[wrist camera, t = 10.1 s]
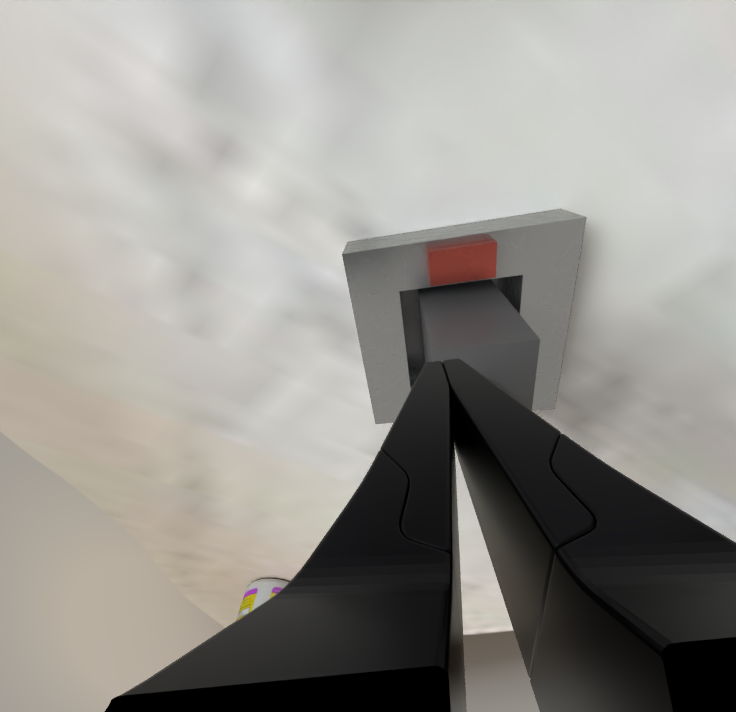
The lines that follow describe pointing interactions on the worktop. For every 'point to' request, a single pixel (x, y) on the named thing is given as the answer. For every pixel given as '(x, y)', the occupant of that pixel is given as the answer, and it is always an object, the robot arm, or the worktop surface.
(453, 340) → the plug
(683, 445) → the worktop surface
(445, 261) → the socket plate
